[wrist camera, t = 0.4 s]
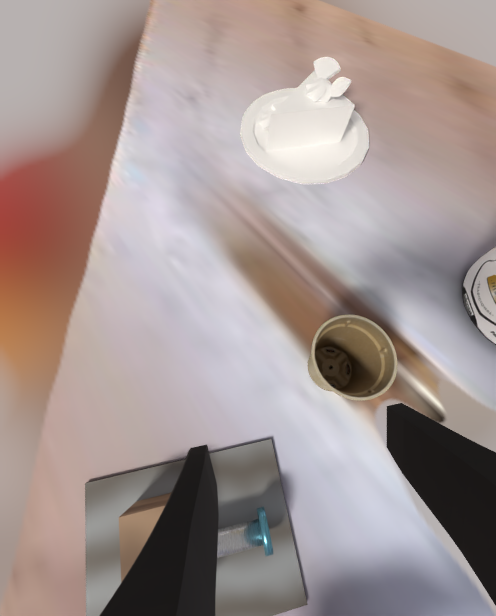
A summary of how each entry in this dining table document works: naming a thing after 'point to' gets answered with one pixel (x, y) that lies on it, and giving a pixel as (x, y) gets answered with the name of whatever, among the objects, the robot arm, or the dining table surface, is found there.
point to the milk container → (482, 294)
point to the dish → (307, 129)
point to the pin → (245, 536)
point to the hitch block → (232, 510)
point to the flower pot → (353, 358)
